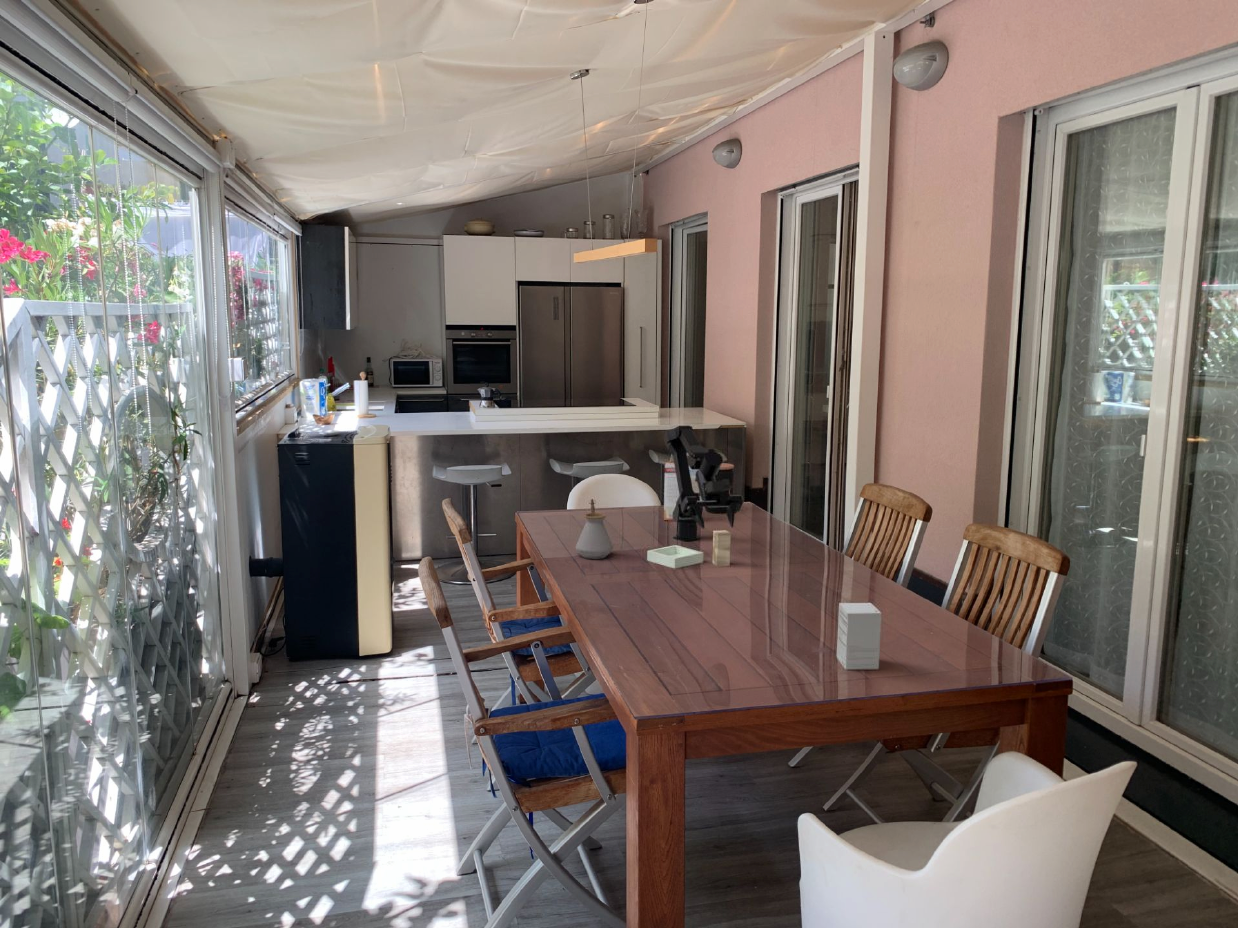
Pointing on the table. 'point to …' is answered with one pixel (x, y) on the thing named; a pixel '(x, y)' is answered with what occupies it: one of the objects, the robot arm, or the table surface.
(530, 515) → the table surface
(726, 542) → the handle block
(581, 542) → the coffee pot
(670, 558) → the tray
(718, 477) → the coffee jar
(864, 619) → the supplement box
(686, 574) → the table surface
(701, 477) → the robot arm
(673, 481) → the cracker box
